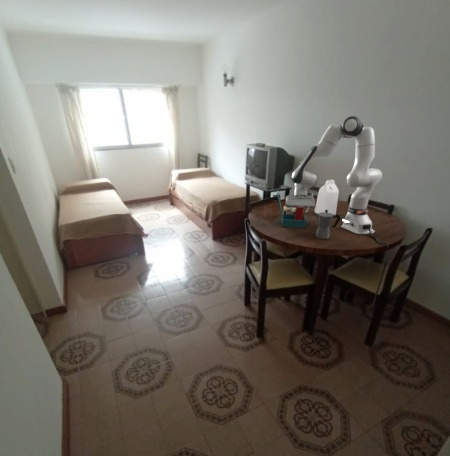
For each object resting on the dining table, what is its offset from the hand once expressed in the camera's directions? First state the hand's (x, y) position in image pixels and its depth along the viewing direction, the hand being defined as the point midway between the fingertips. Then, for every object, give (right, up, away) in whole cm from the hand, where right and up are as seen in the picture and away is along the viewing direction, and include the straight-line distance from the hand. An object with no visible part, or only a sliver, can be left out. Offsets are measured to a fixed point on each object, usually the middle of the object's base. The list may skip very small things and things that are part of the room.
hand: (299, 212), depth 195 cm
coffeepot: (+12, -19, -15) cm, 27 cm away
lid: (-14, +6, -1) cm, 15 cm away
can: (0, -7, +4) cm, 8 cm away
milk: (+28, +5, +27) cm, 39 cm away
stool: (-3, 0, +19) cm, 19 cm away
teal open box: (-3, -8, +5) cm, 10 cm away
